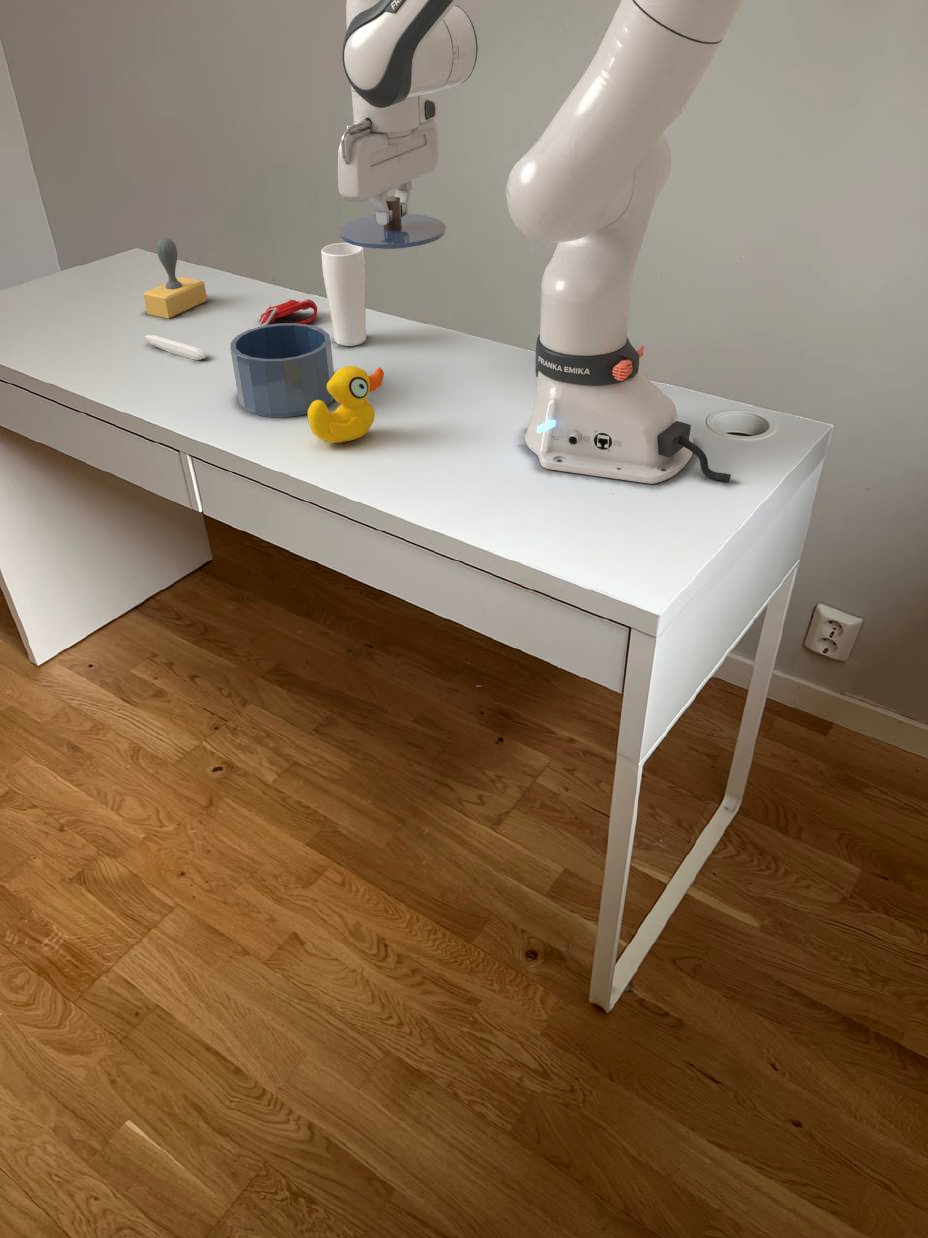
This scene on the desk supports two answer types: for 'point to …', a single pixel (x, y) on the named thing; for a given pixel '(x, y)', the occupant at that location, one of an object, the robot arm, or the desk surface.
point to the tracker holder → (287, 311)
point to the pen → (176, 347)
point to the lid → (393, 230)
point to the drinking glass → (346, 291)
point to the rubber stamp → (173, 287)
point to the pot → (282, 368)
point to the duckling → (346, 406)
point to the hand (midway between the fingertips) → (392, 219)
